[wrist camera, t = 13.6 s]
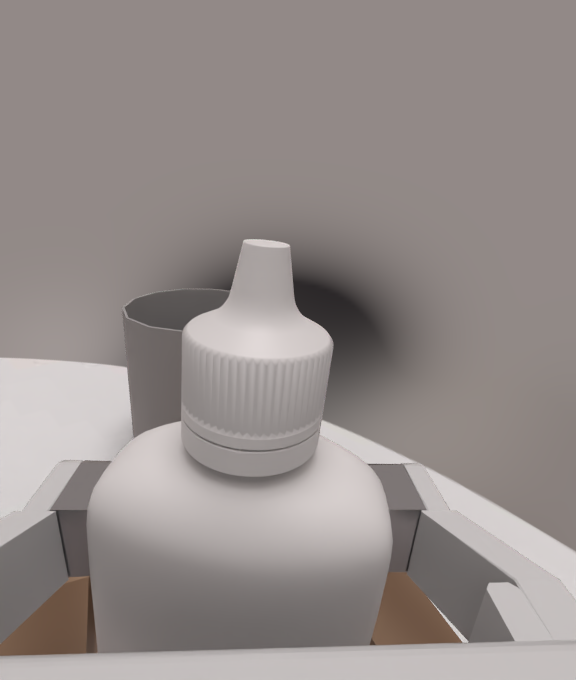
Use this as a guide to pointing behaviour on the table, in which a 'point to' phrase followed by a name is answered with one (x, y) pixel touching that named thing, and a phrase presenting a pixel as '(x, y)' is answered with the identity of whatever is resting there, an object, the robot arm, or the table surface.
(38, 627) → the socket block
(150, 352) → the cup
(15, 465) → the table surface
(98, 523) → the eye dropper bottle
